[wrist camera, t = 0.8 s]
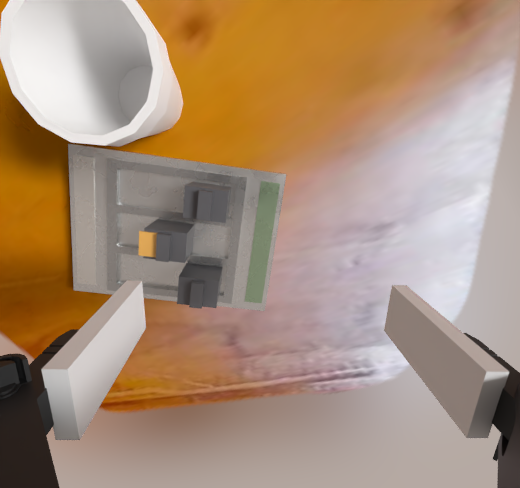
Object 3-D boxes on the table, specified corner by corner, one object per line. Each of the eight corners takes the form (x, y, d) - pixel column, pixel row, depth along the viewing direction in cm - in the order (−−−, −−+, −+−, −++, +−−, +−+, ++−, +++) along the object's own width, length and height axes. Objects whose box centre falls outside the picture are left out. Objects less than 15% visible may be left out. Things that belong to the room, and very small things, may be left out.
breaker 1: (152, 245, 33) (136, 260, 28) (153, 219, 32) (136, 229, 27) (192, 250, 33) (183, 265, 29) (194, 224, 32) (185, 235, 28)
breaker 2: (190, 210, 32) (181, 219, 27) (193, 181, 31) (183, 186, 26) (228, 214, 32) (224, 224, 28) (231, 186, 31) (228, 192, 27)
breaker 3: (185, 287, 34) (175, 307, 30) (186, 262, 34) (176, 279, 29) (219, 290, 35) (215, 311, 30) (222, 266, 34) (218, 284, 29)
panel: (80, 284, 36) (70, 292, 34) (76, 144, 31) (64, 143, 29) (263, 304, 37) (264, 313, 35) (284, 173, 33) (286, 174, 31)
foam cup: (216, 115, 31) (193, 88, 18) (146, 166, 32) (80, 174, 20) (157, 24, 28) (84, -77, 16) (83, 84, 30) (-37, 33, 17)
